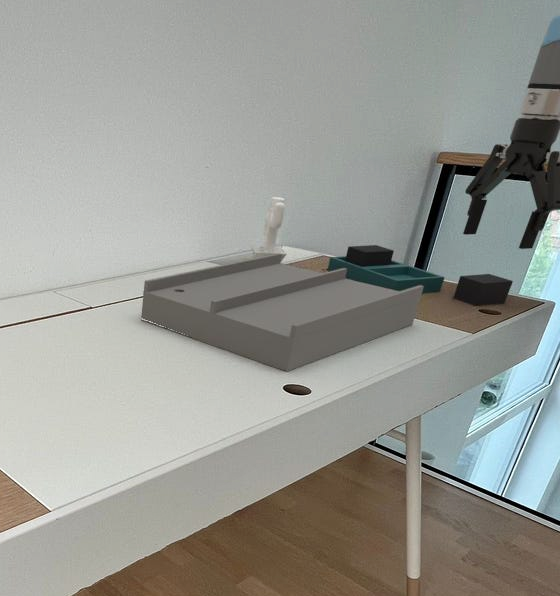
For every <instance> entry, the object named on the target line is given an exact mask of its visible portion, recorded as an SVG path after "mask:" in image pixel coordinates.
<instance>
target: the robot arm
mask: <svg viewBox="0 0 560 596" xmlns="http://www.w3.org/2000/svg"><path fill="white" fill-rule="evenodd" d="M518 114H519V115H521V116H520V117H518V118H517V119H515V122H514V125H513V128H512V130H511V132H510V133H511V134H510V137H509V140H510V144H509V145H508V144H504V143H503V144H495V145H494V146H493V148H492V150H491V153H490V154H489V157H488V158H487V159H486V161H485V162H484V164H483V165H482V166H481V168H480V169H479V171H478V172H477V173H476V175H475V176H474V177H473V179H472V180H471V182H469V185H468V186H467V187H466V189H465V191H464V192H465V194H466V195H469V196H470V198H471V200H470V202H469V203H470V204H469V207H468V210H467V216H468V218H467V221H466V224H465V226H464V228H463V229H464V230H463V232H462V234H463V235H468V236H469V235H476V234H477V232H478V229H479V226H480V223H481V219H482V217H483V214H484V211H485V208H486V205H487V202H488V199H487V196H488V195H489V194H490V193H491V192H492V191H494V190H495V188H497V187H498V186H499V185H500V184H501V183H502V182H503V181H504V180H506V178H508V176H510V175H511V174H512V175H518V176H525V177H526V178H527V179H528V180H529V183H530V188H531V190H532V195H533V199H534V202H535V206H536V209H534V210H533V211H531V214H530V217H529V219H528V222H527V225H526V227H525V230H524V233H523V235H522V238H521V241H520V243H519V246H518V249H521V250H528V249H530V250H531V249H533V247H534V245H535V242H536V240H537V237H538V234H539V232H542V231H543V230H544V228H545V226H546V222H547V220H548V218H549V216H550V214H551V212H554V211H559V210H560V150H553V151H551V150H552V146H553V144H554V143H555V142H556V141H557V138H558V136H559V133H560V12H559V13H557V14H556V15H555V16H554V17H552V18H551V20H550V21H549V23H548V27H547V29H546V32H545V35H544V37H543V39H542V42H541V45H540V48H539V51H538V54H537V57H536V59H535V62H534V66H533V69H532V72H531V75H530V78H529V81H528V84H527V88H526V89H525V93H524V96H523V99H522V101H521V105H520V107H519V110H518ZM504 158H505V160H504ZM503 160H504V161H503ZM502 161H503V162H502ZM545 163H546V165H547V166H545ZM545 167H546V168H545Z"/></svg>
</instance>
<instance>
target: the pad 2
mask: <svg viewBox="0 0 560 596" xmlns="http://www.w3.org/2000/svg"><path fill="white" fill-rule="evenodd" d="M513 283H514V281H513V280H511V279H508V278H504V277H501V276H498V275H494V274H491V273H483V274H470V275H460V276H459V278H458V282H457V284H456V288H455V291H454V293H453V297H452V298H453V299H455V300H458V301H461V302H462V303H463V302H464V303H467V304H469V305H473V306H475V307H477V306H479V307H480V306H489V305H490V306H491V305H499V304H505V303H506V301H507V298H508V296H509V293H510V290H511V287H512V285H513Z"/></svg>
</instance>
